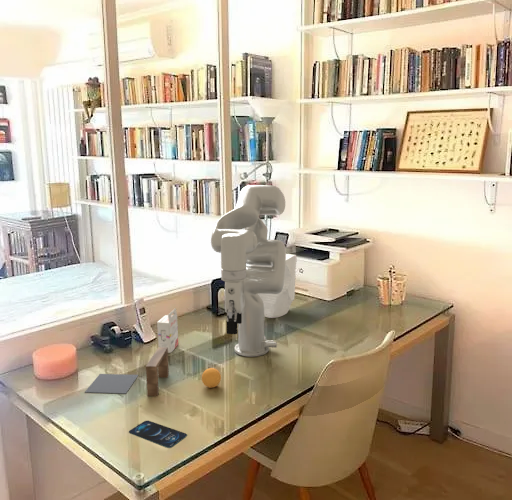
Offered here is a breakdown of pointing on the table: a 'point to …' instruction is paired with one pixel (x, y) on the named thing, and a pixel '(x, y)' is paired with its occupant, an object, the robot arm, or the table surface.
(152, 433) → the smartphone
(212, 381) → the ball
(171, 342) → the ink cartridge box
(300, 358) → the table surface
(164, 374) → the bridge
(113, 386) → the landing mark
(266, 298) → the white curved block
